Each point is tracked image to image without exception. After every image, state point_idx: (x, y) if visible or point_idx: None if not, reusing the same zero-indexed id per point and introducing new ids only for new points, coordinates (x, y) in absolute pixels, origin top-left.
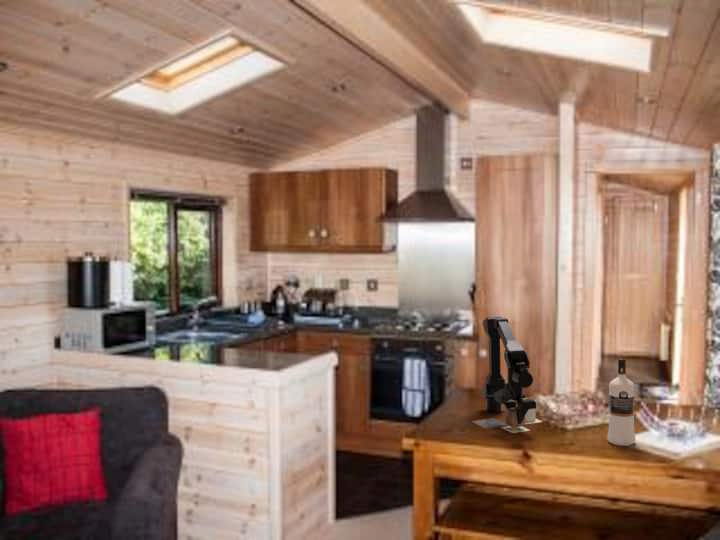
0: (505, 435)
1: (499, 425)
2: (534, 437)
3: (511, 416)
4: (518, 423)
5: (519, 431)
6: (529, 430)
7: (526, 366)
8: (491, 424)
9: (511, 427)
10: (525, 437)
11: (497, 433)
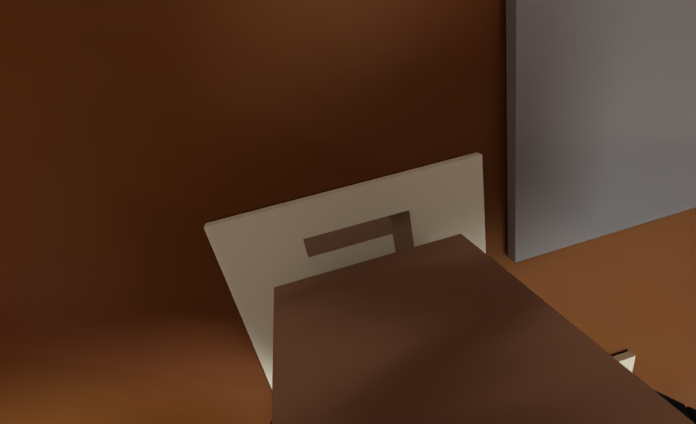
0: (138, 98)
1: (535, 165)
2: (46, 418)
3: (368, 419)
4: None
5: (261, 322)
6: None
7: None
8: (612, 75)
9: None
10: (38, 333)
11: (258, 6)
